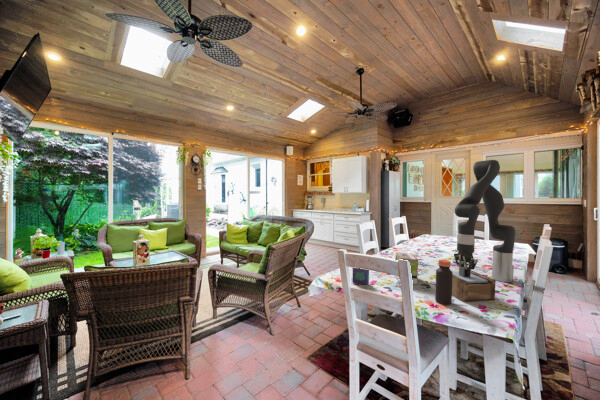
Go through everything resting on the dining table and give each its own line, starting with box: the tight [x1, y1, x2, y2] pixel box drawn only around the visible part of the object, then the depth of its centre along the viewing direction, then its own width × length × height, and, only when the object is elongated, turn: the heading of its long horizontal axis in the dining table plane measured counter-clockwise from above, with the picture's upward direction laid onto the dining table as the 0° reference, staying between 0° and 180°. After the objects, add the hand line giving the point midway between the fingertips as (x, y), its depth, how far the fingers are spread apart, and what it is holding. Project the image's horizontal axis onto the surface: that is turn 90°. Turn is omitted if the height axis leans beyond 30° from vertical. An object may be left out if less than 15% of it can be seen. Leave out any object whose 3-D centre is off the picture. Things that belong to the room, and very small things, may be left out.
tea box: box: [395, 252, 419, 285], centre depth 148 cm, size 15×10×15 cm
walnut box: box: [452, 270, 497, 303], centre depth 129 cm, size 18×17×10 cm
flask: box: [351, 267, 370, 286], centre depth 141 cm, size 9×3×11 cm, turn 68°
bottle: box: [434, 259, 453, 306], centre depth 118 cm, size 7×7×20 cm
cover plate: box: [452, 266, 488, 283], centre depth 129 cm, size 14×14×6 cm
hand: (464, 275), depth 129 cm, fingers closed on cover plate, 3 cm apart
